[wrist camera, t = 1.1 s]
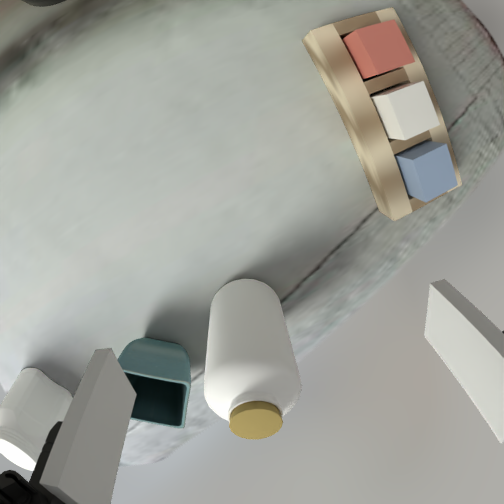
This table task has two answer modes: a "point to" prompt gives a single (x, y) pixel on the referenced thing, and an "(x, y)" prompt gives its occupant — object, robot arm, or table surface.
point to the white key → (405, 110)
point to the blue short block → (426, 170)
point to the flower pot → (158, 381)
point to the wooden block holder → (373, 109)
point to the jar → (30, 416)
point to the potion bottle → (250, 360)
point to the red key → (378, 48)
